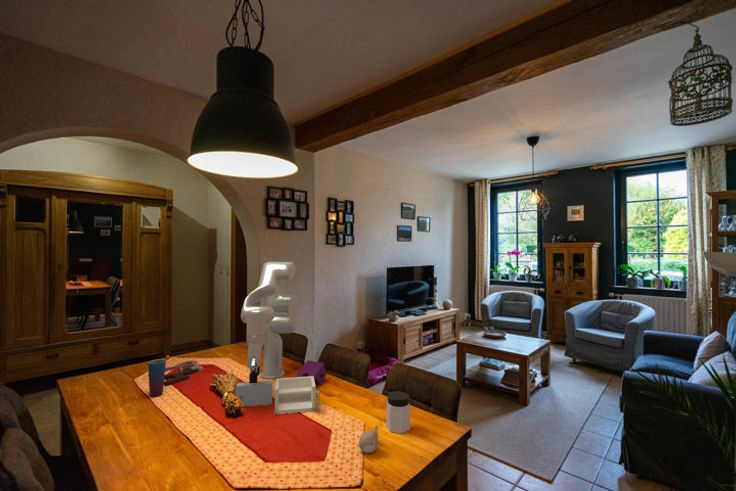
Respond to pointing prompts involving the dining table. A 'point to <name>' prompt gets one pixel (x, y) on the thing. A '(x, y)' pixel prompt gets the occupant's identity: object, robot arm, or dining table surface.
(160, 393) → the cup
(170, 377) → the wood carving
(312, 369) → the mounting bracket
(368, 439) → the garlic bulb
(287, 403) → the cabinet
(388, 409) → the jar
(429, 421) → the dining table surface
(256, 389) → the door
